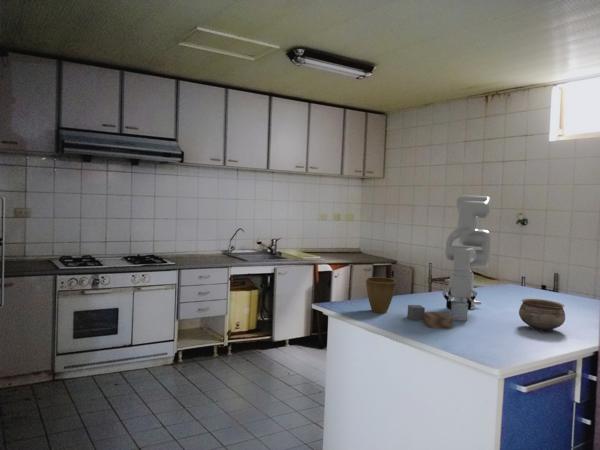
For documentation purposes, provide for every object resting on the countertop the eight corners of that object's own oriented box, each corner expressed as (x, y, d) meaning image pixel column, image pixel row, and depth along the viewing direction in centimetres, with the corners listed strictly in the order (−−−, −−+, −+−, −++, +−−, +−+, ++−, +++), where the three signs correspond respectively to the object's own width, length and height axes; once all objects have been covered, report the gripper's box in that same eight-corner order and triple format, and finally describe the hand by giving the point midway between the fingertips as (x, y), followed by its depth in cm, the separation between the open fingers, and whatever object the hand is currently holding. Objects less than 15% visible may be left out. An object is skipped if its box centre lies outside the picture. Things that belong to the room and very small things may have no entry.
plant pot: (358, 308, 243) (360, 277, 242) (384, 307, 248) (386, 276, 247) (373, 315, 229) (375, 282, 228) (400, 314, 234) (402, 282, 234)
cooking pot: (528, 320, 234) (530, 296, 234) (571, 329, 221) (573, 303, 220) (508, 329, 216) (510, 302, 216) (554, 339, 203) (556, 310, 203)
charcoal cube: (419, 317, 231) (420, 305, 230) (423, 320, 225) (424, 308, 225) (407, 317, 230) (408, 304, 230) (411, 320, 224) (412, 307, 224)
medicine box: (465, 319, 232) (466, 301, 231) (467, 321, 227) (468, 303, 227) (448, 317, 233) (449, 300, 232) (450, 320, 228) (451, 302, 228)
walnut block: (443, 323, 222) (444, 312, 222) (451, 329, 213) (452, 318, 212) (422, 322, 222) (423, 311, 222) (429, 328, 212) (430, 317, 212)
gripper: (474, 273, 233) (472, 308, 234) (440, 271, 231) (437, 307, 232) (482, 275, 226) (479, 311, 226) (446, 273, 224) (444, 310, 224)
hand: (458, 309), depth 229 cm, fingers open, 9 cm apart
